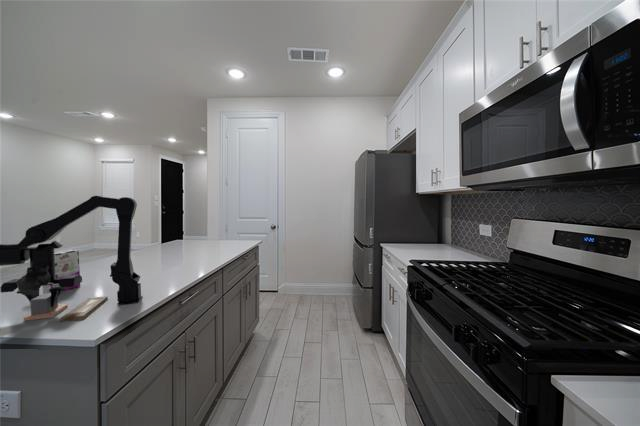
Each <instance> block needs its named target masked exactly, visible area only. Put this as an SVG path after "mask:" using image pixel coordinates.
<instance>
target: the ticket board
mask: <svg viewBox="0 0 640 426" xmlns="http://www.w3.org/2000/svg"><path fill="white" fill-rule="evenodd" d="M106 301H108V296H98V297H96V296H95V297H89V298H87V299H85V300H84V301H82V302H81V303H79V304H78V305H76V306H75V307H74V308H72V309H71V310H70V311H68V312H67V313H65V314H64V315H62V316H60V318H59V322H60V323H62V322H71V321H81V320H85V319H86V318H87V317H88V316H90V315H91V314H92V313H94V312H95V310H97V309H98V308H99V307H101V306H102V305H103V304H104V303H105V302H106Z"/></svg>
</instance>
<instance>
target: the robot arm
mask: <svg viewBox="0 0 640 426" xmlns="http://www.w3.org/2000/svg"><path fill="white" fill-rule="evenodd" d="M137 205H138V204H137V201H136V200H135V199H134V198H132V197H127V196H125V197H120V198H113V197H107V196H106V197H105V196H101V195H93V196H91V197H90V198H89V199H87V200H85V201H84V202H81V203H80V204H79V205H77V206H75V207H72V208H71V209H69V210H67V211H66V212H64V213H62V214H60V215H59V216H57V217H55V218H51V219H50V220H47V221H43V222H41V223H39V224H36V225H33V226H31V227H29V228H28V229H26V231H25V235H24V237H23V238H22V239H21V240H20V242H19V243H13V244H11V243H10V244H8V243H0V266H1V267H2V266H15V265H23V264H25V262H27V261H29V267H27V269H26V273H25V274H24V275H23V276H22V277H21V278H14V279H13V278H12V279H11V280H8V281H6V282H5V281H4V282H3V283H2V284H1V285H0V293H12V292H15V291H16V289H17V291H16V294H20V295H23V296H24V297H26V299H27V300H28V301H29V303H30V304H31V302H30V300H31V299H33V298H35V297H37V296H39V295H40V288H42V287H43V286H45V285H53V288H51V289H49V291H50V292H51V307H55V305H56V303H57V301H58V302H59V298H60V296H61V295H62V293H63V292H64V291H63V290H64V288H65V287H72V286H75V285H77V284H79V283H80V284H81V283H83V276H81V274H80V275H67V276H65V277H63V278H61V279H56V278H57V277H58V274H57V275H55V266H57V263H55V257H54V252H55V249H60V248H62V247H63V244H61V243H60V242H57V241H56V240H53V239H55V237H57V236H58V235H59V234H60V233H61V232H62V231H64V229H65V228H66V227H68V226H70V225H71V224H73V223H75V222H76V221H78V220H80V219H81V218H83V217H85V216H86V215H89V214H90V213H91V212H94V211H95V210H97V209H98V208H106V209H114V210H115V211H116V215H117V219H118V241H117V258H116V262H113V263H112V264H110V271H111V272H110V275H109V278H111V280H112V282H114V283H115V284H117V285H118V290H117V293H116V295H117V296H116V298H117V306H121V305H130V304H131V305H133V304H138V303H140V302H141V300H142V299H143V298H144V297H143V295H142V283H141V282H140V283H139V281H140V280H141V275H139V274H138V273H136V272H134V267H133V262H132V257H131V254H132V250H131V249H132V232H133V231H132V230H133V220H134V216H135V214H136V210H137ZM50 240H53V241H52V242H50V243H45V242H49V241H50ZM33 245H37V246H33ZM31 246H32V247H31ZM49 282H50V283H49Z"/></svg>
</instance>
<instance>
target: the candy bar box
mask: <svg viewBox="0 0 640 426" xmlns="http://www.w3.org/2000/svg"><path fill="white" fill-rule="evenodd" d="M79 252H80V251H79V250H78V249H67V250H61V251H57V252H56V251H54V257H55V263H57V266H55V275H57V274H58V277H57V278H56V279H61V278H63V277H65V276H67V275H80V276H81V274H80V273H81V272H80V271H81V270H80V255H79ZM49 283H50V282H49ZM77 287H81V283H79V284H77V285H75V286H72V287H65V288H64V290H63V291H62V292H64V291H69V290H71V289H75V288H77ZM51 288H53V285H45V286H42V294H46V293H51V292H50V291H49V289H51Z"/></svg>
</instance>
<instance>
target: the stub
mask: <svg viewBox="0 0 640 426" xmlns="http://www.w3.org/2000/svg"><path fill="white" fill-rule="evenodd" d="M30 302H31V303H30ZM29 303H30V313H29V314H27V315H26V316H24V317H23V321H32V320H40V319H42V320H43V319H50V318H53V317H55V316H56V315H58V314H59V313H61V312H63V311H64V310H65V309H67V308H68V307H69V305H68V304H66V303H65V304H59V300H58V301H57V303H56V305H55V307H51V293H46V294H43V293H41V294H39V296H37V297H35V298H33V299H31V300H30V301H29Z"/></svg>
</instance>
